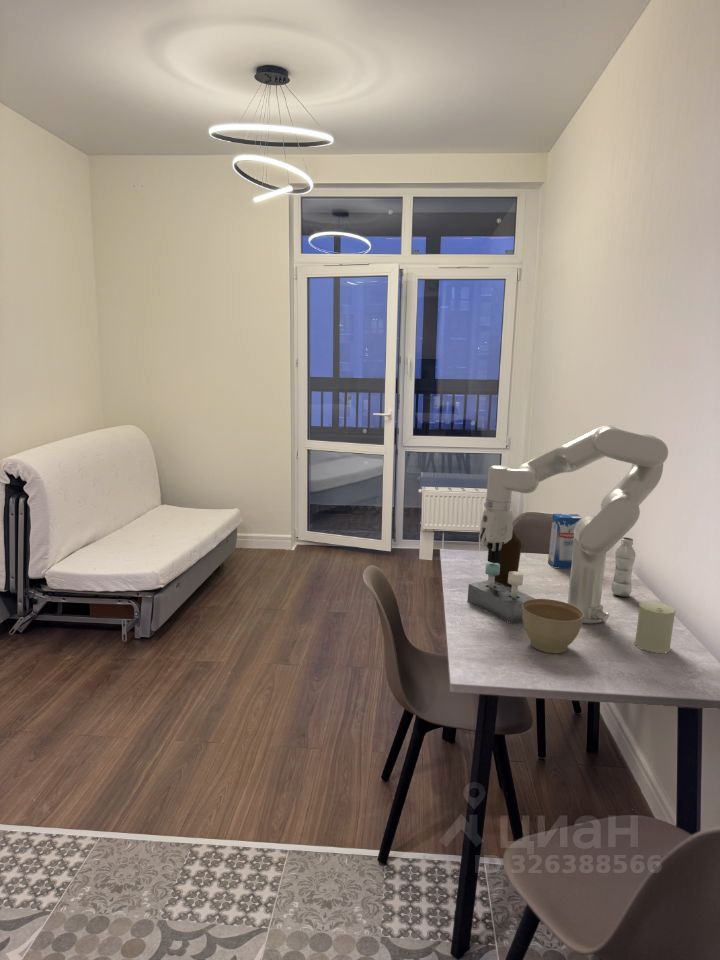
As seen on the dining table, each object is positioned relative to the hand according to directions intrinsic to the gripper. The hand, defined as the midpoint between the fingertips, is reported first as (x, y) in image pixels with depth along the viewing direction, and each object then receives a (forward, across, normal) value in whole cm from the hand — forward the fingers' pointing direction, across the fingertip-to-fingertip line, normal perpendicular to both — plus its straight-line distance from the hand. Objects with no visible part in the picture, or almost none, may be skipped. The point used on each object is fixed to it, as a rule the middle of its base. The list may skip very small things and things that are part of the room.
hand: (492, 561), depth 203 cm
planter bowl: (+14, -7, -31) cm, 35 cm away
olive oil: (+14, +15, +10) cm, 23 cm away
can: (+14, +20, -44) cm, 51 cm away
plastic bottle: (+14, +48, -13) cm, 52 cm away
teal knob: (+10, 0, 0) cm, 10 cm away
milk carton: (+14, +56, +19) cm, 61 cm away
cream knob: (+10, 0, -10) cm, 14 cm away
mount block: (+14, 0, -5) cm, 15 cm away
